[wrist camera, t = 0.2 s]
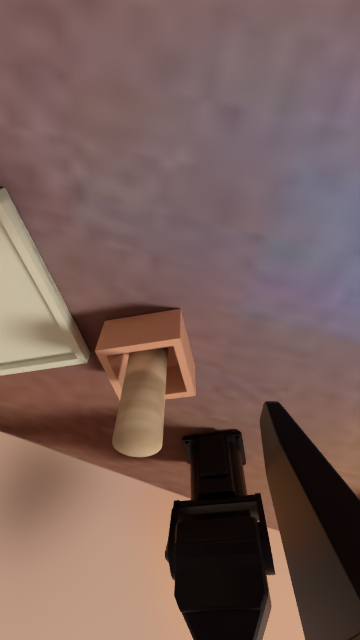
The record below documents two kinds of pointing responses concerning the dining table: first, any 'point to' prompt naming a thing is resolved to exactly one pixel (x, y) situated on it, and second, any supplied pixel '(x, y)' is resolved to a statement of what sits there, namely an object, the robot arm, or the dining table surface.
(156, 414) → the dowel
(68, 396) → the dining table surface
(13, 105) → the dining table surface
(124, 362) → the orange open box
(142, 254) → the dining table surface
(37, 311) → the tray
